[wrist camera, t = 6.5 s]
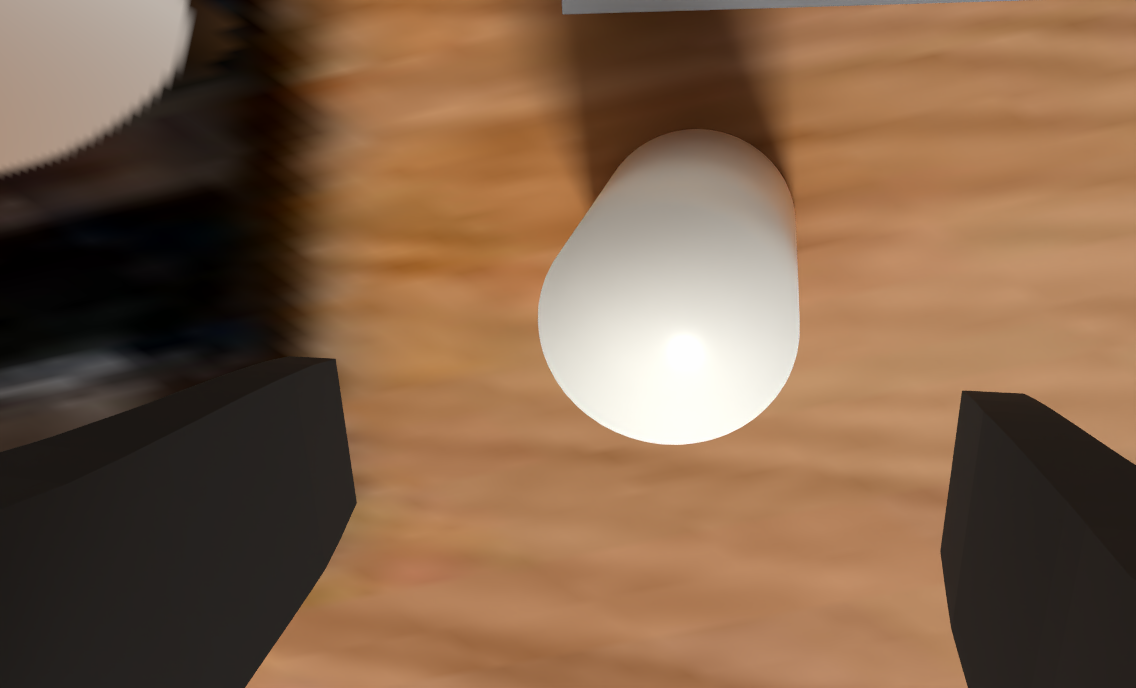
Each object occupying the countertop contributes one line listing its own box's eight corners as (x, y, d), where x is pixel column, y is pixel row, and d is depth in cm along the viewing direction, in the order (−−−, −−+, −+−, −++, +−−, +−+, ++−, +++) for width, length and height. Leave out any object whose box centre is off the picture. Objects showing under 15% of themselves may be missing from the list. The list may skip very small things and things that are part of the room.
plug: (742, 347, 20) (728, 483, 16) (570, 271, 21) (502, 381, 16) (832, 178, 19) (849, 271, 14) (644, 96, 19) (594, 157, 14)
